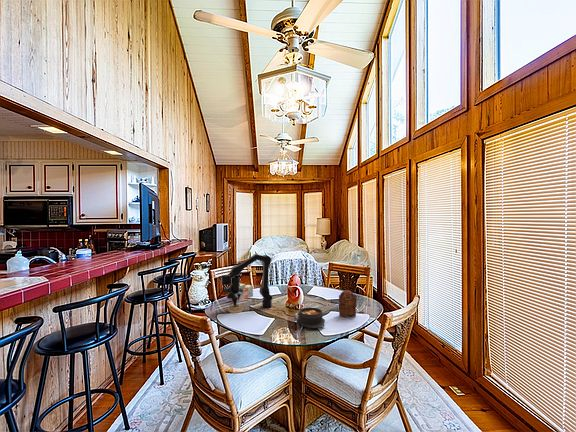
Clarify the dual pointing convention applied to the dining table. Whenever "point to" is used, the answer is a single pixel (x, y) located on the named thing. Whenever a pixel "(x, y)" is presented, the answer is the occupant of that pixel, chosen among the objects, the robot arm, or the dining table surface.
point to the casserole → (311, 317)
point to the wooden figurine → (347, 304)
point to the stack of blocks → (245, 292)
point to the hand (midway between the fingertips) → (235, 304)
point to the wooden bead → (235, 308)
